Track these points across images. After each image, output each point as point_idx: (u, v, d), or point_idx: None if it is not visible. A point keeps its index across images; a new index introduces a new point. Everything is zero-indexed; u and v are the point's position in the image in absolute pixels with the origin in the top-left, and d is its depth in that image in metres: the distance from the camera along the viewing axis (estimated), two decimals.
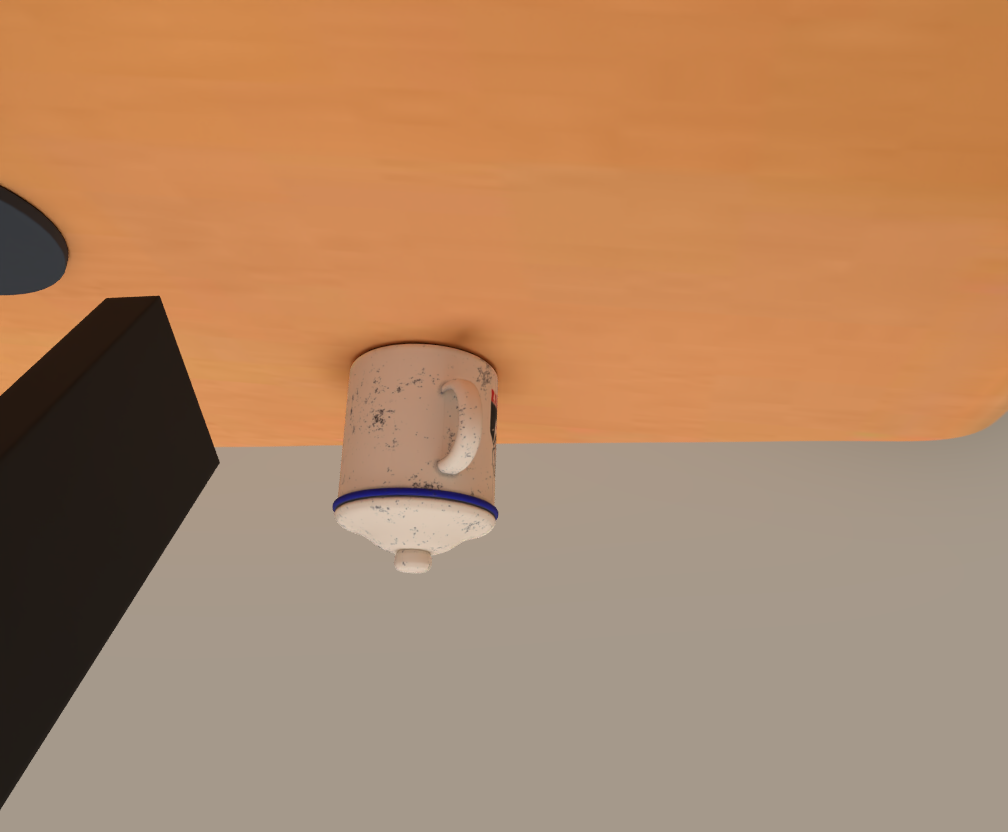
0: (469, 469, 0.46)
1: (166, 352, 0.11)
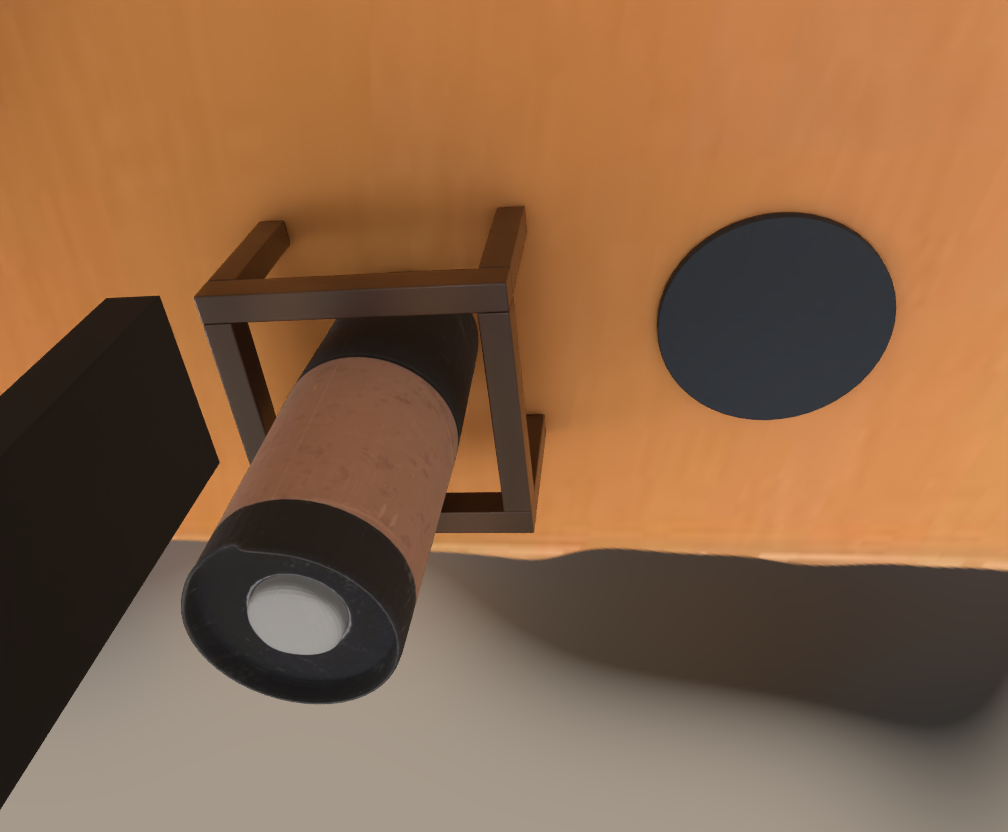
0: None
1: (166, 352, 0.11)
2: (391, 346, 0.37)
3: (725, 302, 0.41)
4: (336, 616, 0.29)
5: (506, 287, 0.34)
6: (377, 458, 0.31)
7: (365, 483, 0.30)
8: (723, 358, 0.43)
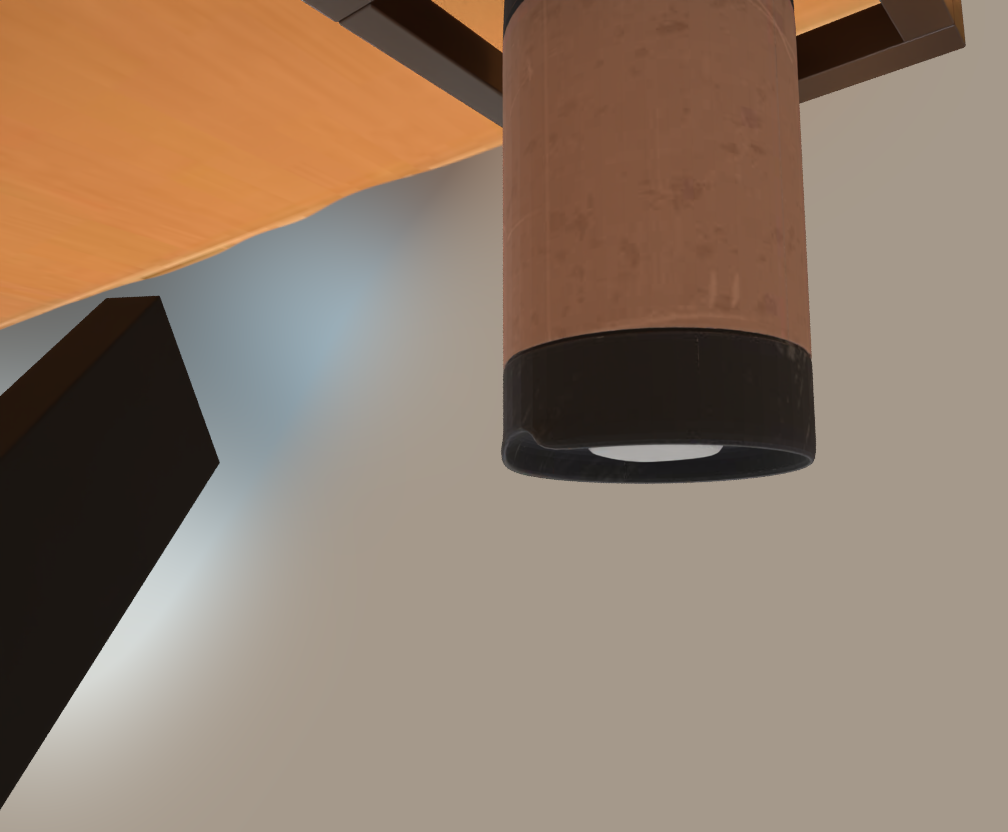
0: None
1: (167, 352, 0.11)
2: None
3: None
4: None
5: None
6: (671, 188, 0.19)
7: (670, 254, 0.18)
8: None
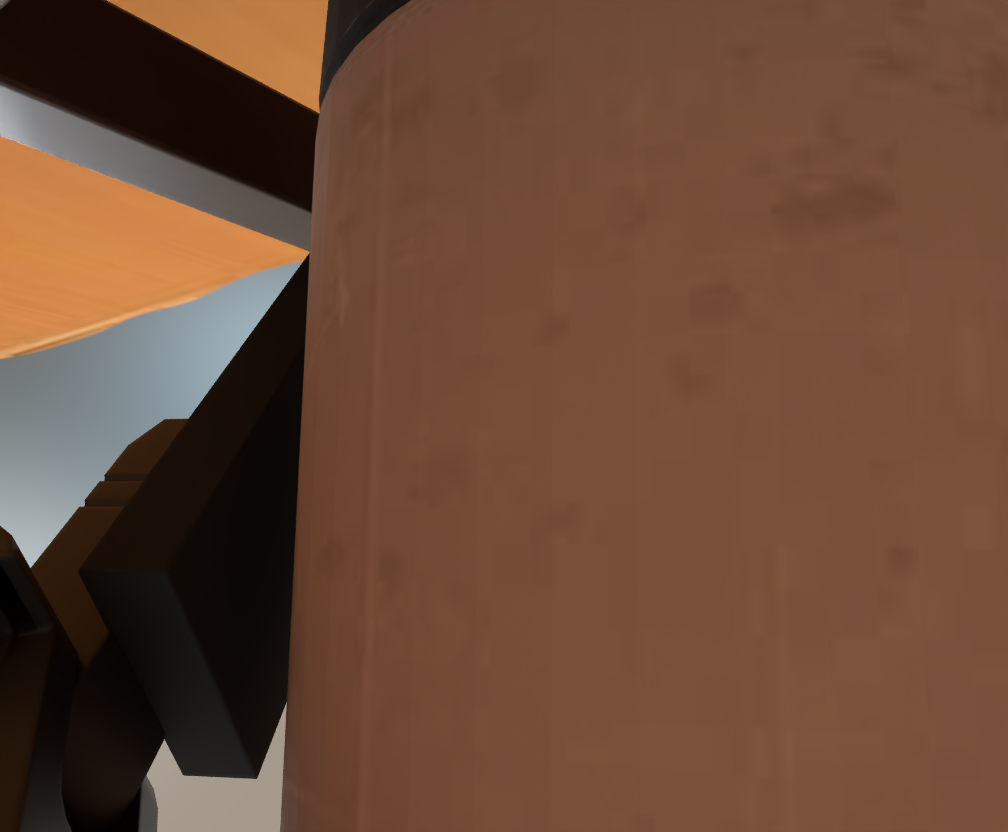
0: None
1: None
2: None
3: None
4: None
5: None
6: None
7: None
8: None
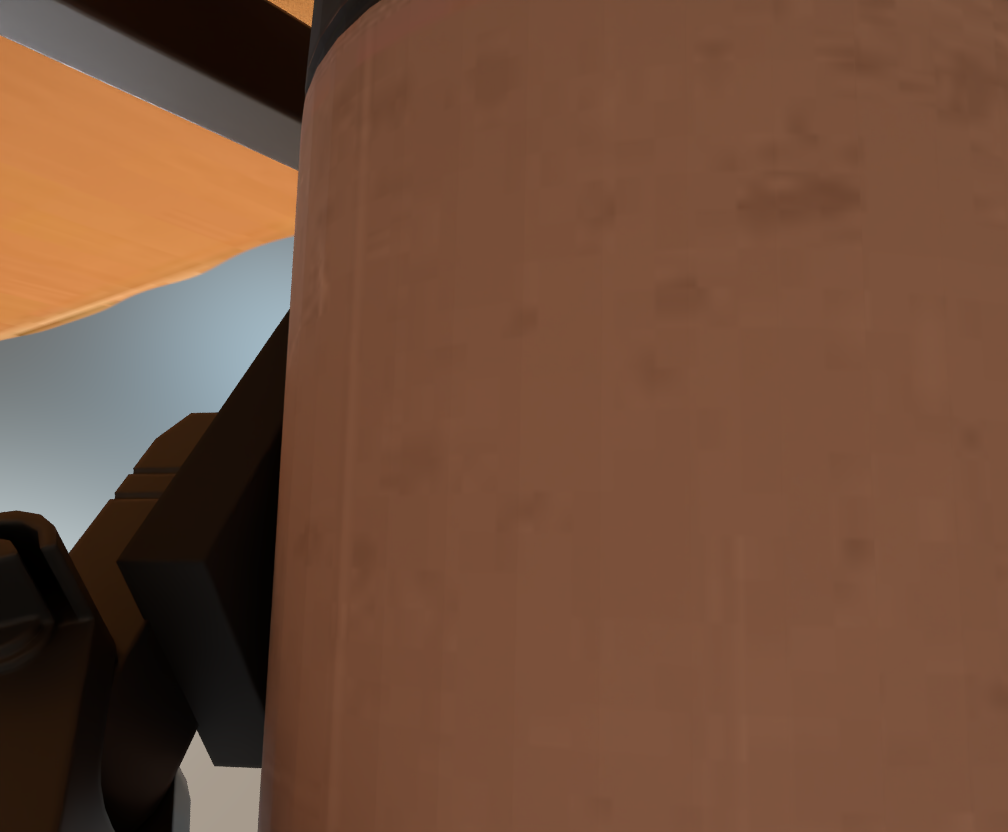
0: None
1: None
2: None
3: None
4: None
5: None
6: None
7: None
8: None
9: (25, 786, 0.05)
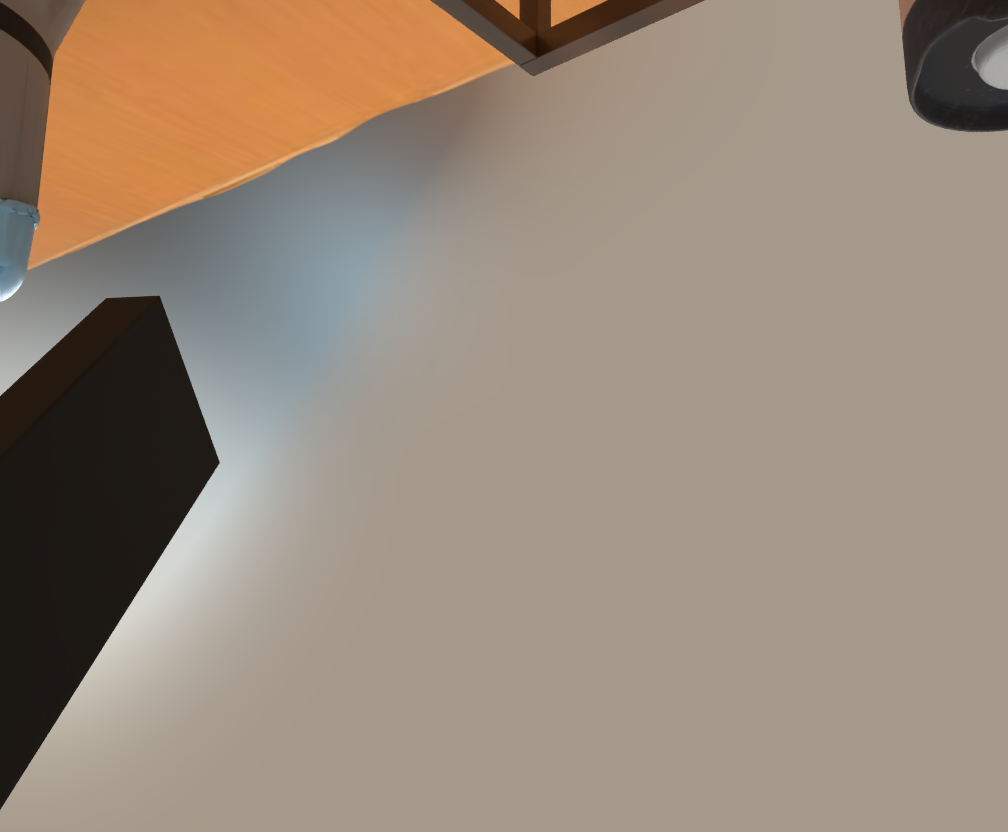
0: None
1: (167, 352, 0.11)
2: None
3: None
4: None
5: None
6: None
7: None
8: None
9: None
